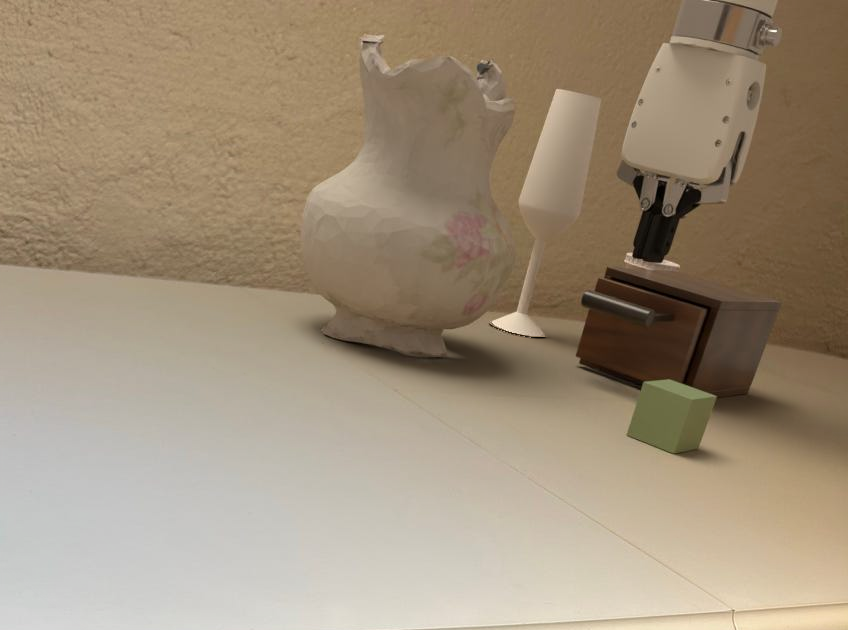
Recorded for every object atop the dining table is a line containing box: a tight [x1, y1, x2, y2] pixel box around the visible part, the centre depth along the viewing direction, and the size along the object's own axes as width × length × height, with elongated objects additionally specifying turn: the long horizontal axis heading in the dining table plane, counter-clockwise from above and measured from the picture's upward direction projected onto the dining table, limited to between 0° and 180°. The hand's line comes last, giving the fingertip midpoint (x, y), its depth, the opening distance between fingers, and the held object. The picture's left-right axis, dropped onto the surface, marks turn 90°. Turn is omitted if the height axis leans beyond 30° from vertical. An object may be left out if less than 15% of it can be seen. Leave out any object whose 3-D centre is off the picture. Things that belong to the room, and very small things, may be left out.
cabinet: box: [579, 266, 783, 399], centre depth 107 cm, size 15×13×10 cm
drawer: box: [575, 276, 711, 385], centre depth 103 cm, size 19×11×8 cm, turn 137°
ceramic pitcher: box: [299, 34, 517, 358], centre depth 94 cm, size 22×20×25 cm
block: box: [626, 379, 718, 455], centre depth 83 cm, size 4×4×4 cm
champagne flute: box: [491, 88, 602, 336], centre depth 112 cm, size 7×7×24 cm
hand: (647, 259), depth 96 cm, fingers closed
